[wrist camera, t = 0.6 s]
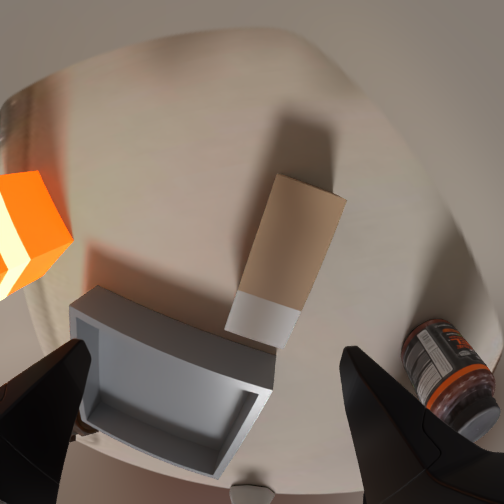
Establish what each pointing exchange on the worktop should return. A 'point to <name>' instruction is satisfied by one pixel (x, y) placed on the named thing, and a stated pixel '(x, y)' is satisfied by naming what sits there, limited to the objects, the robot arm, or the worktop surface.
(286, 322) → the tan rectangular block
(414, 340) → the supplement bottle
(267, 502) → the flask
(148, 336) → the bin
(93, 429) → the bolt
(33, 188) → the orange juice
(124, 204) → the worktop surface
